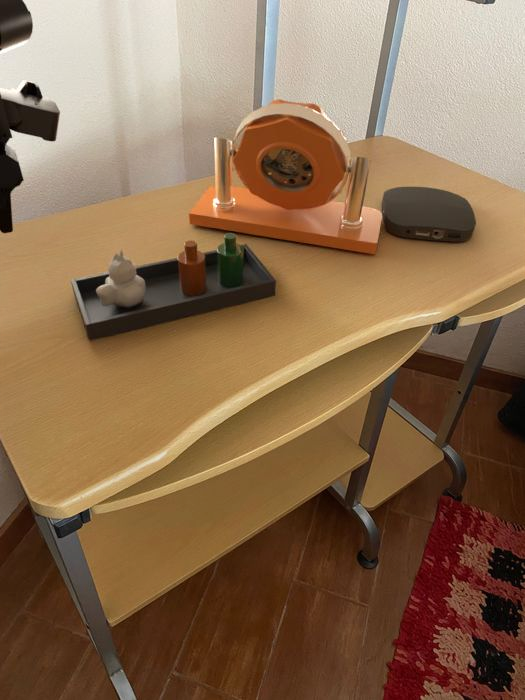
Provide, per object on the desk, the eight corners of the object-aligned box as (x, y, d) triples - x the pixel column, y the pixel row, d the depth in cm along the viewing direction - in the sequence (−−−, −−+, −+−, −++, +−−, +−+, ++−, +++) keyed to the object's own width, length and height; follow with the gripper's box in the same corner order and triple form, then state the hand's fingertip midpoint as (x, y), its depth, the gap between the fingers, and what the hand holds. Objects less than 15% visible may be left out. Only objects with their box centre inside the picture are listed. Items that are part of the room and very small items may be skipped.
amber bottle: (184, 298, 70) (181, 253, 66) (176, 284, 73) (172, 239, 68) (210, 292, 71) (208, 247, 67) (201, 278, 74) (199, 234, 69)
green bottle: (223, 289, 72) (222, 244, 67) (213, 275, 74) (212, 231, 70) (247, 284, 73) (248, 239, 69) (237, 270, 76) (237, 226, 71)
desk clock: (373, 259, 80) (402, 123, 67) (188, 228, 85) (180, 96, 72) (380, 221, 89) (407, 95, 76) (212, 195, 94) (209, 72, 80)
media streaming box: (460, 204, 95) (465, 188, 93) (476, 246, 84) (481, 229, 82) (379, 197, 96) (382, 182, 94) (384, 238, 85) (388, 221, 83)
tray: (89, 341, 64) (85, 325, 62) (74, 295, 71) (70, 279, 69) (275, 295, 72) (276, 280, 71) (245, 258, 79) (246, 243, 77)
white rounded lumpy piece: (157, 303, 69) (150, 251, 64) (113, 324, 66) (102, 270, 60) (133, 285, 72) (125, 233, 67) (90, 304, 68) (78, 251, 63)
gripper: (58, 88, 48) (89, 239, 59) (32, 42, 61) (61, 173, 71) (-79, 100, 44) (-20, 258, 55) (-77, 48, 57) (-29, 185, 67)
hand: (4, 213), depth 62 cm, fingers open, 9 cm apart
